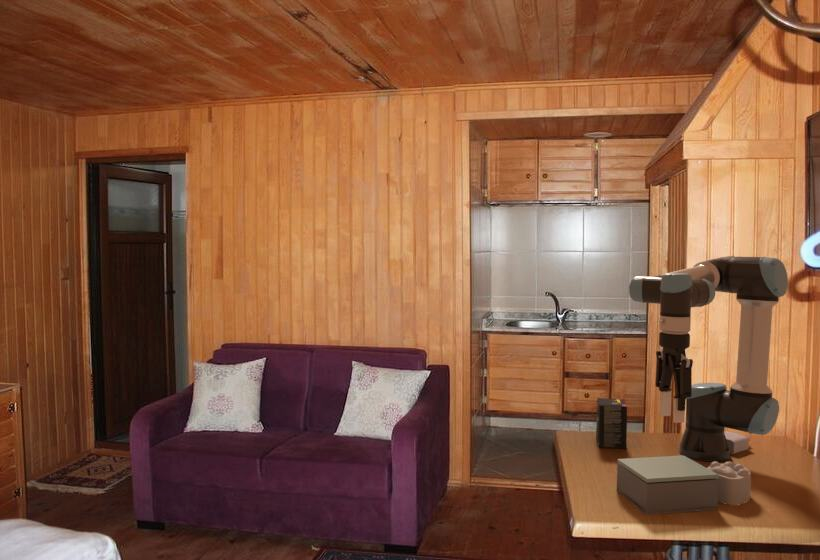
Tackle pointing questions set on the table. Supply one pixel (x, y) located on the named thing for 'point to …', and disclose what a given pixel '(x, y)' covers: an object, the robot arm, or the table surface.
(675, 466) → the lid
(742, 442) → the charger
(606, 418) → the tampon box
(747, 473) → the lumpy-topped squat cylinder
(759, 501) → the table surface
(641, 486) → the storage box
